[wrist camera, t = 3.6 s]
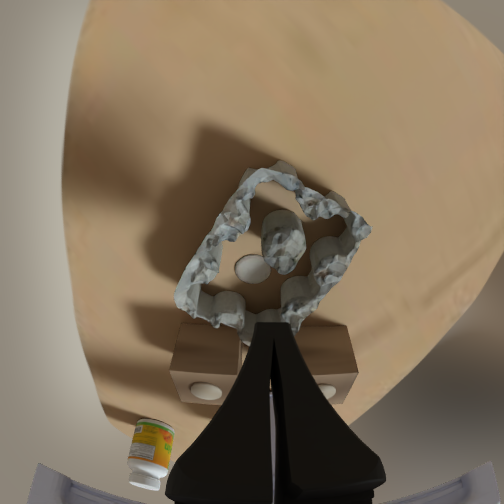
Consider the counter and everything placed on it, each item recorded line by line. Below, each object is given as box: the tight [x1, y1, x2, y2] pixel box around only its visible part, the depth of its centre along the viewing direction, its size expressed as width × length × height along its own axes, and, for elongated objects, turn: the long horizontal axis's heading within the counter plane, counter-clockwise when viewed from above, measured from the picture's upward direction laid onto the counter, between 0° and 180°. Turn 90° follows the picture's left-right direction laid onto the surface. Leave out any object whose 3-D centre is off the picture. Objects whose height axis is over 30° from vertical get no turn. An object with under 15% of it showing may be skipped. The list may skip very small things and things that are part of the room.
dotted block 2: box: [294, 326, 359, 405], centre depth 20 cm, size 4×4×5 cm
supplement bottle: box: [127, 419, 174, 490], centre depth 29 cm, size 5×5×10 cm
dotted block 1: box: [169, 323, 242, 405], centre depth 21 cm, size 4×4×5 cm
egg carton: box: [174, 160, 373, 346], centre depth 16 cm, size 11×8×4 cm
